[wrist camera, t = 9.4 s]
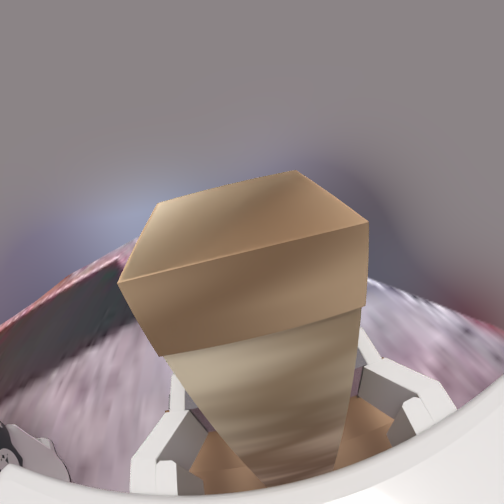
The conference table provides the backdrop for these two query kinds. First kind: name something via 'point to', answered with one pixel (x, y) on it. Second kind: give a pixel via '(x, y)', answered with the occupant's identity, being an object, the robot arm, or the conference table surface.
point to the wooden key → (258, 314)
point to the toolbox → (243, 479)
